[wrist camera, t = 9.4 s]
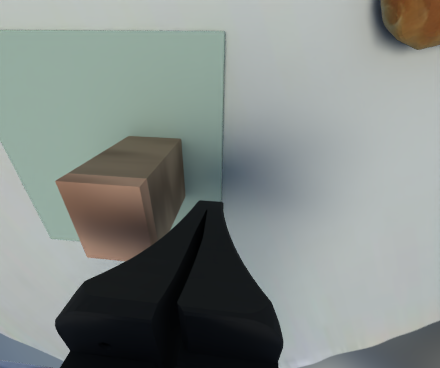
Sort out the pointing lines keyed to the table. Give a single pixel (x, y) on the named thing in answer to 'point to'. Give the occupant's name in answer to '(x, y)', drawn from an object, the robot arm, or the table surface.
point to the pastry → (413, 21)
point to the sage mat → (109, 106)
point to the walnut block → (125, 196)
